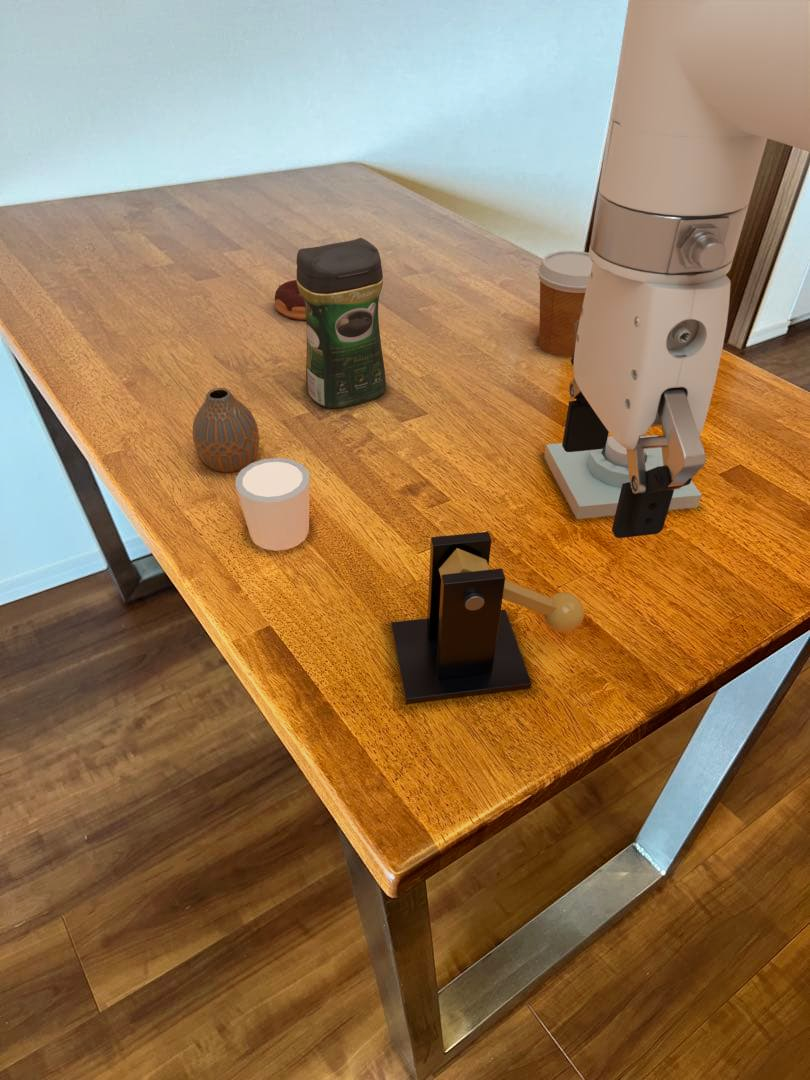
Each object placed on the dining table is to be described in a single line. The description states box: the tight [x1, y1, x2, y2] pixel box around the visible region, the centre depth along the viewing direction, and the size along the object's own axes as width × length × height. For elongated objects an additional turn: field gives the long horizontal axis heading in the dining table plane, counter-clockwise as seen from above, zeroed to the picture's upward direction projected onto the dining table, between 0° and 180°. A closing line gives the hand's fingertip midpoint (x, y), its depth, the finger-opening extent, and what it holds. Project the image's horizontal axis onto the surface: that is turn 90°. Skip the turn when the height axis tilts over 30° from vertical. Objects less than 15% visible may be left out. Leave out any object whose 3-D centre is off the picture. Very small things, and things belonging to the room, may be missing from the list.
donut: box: [274, 279, 306, 321], centre depth 109 cm, size 10×10×4 cm
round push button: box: [604, 434, 647, 468], centre depth 76 cm, size 4×4×2 cm
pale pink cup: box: [235, 457, 311, 552], centre depth 70 cm, size 7×7×7 cm
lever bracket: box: [390, 531, 532, 705], centre depth 56 cm, size 10×8×12 cm
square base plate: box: [543, 434, 703, 520], centre depth 77 cm, size 13×11×4 cm
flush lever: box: [439, 548, 585, 634], centre depth 56 cm, size 13×3×3 cm
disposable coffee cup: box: [537, 250, 593, 357], centre depth 98 cm, size 10×10×12 cm
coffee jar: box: [295, 237, 387, 410], centre depth 86 cm, size 10×8×19 cm
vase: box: [192, 387, 260, 473], centre depth 78 cm, size 7×7×9 cm
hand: (607, 487), depth 50 cm, fingers open, 9 cm apart
